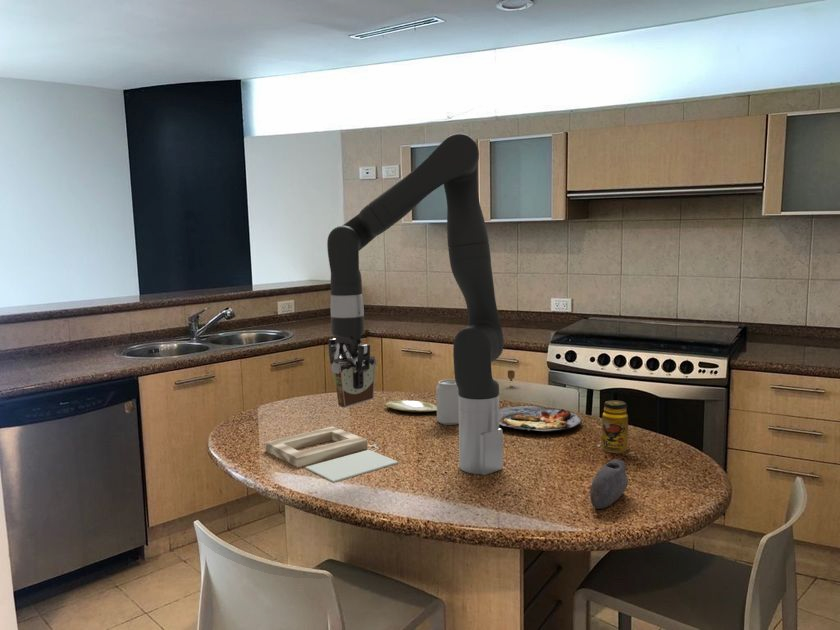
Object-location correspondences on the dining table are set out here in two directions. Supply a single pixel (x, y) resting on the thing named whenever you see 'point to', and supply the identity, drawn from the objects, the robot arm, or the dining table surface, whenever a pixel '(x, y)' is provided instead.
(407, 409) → the oval serving platter
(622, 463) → the perforated stone tool
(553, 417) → the food plate
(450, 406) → the can
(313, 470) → the mat
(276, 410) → the dining table surface
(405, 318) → the dining table surface
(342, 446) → the frame
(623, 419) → the condiment
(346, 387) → the patterned half cylinder
